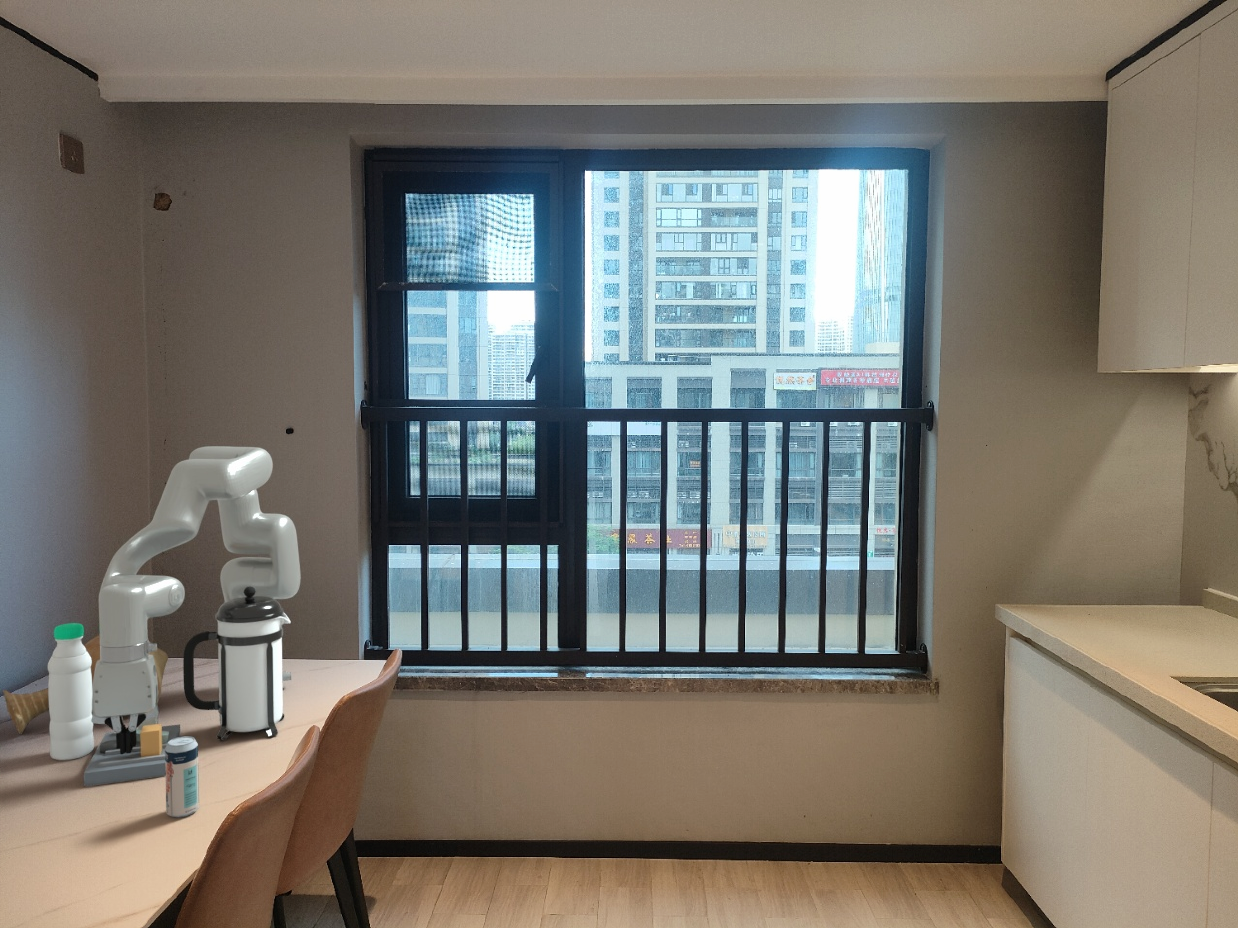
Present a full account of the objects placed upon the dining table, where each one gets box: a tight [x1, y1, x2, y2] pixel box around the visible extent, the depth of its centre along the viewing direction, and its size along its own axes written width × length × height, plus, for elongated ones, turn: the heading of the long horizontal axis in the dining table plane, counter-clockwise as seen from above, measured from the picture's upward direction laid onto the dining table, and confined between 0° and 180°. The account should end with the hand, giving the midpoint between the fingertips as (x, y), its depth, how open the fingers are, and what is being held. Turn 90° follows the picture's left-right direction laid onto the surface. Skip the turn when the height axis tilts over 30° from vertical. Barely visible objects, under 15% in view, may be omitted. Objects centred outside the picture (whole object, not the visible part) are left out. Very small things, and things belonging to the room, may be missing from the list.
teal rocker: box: [136, 728, 169, 743], centre depth 160 cm, size 6×2×1 cm, turn 112°
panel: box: [83, 724, 181, 787], centre depth 159 cm, size 13×20×4 cm, turn 22°
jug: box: [2, 633, 169, 735], centre depth 179 cm, size 20×19×30 cm
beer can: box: [165, 735, 200, 818], centre depth 138 cm, size 5×5×12 cm
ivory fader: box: [137, 715, 159, 730], centre depth 164 cm, size 3×4×5 cm
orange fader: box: [140, 723, 162, 757], centre depth 155 cm, size 3×4×5 cm
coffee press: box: [182, 586, 291, 742], centre depth 173 cm, size 17×16×30 cm
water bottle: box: [47, 622, 95, 761], centre depth 160 cm, size 7×7×25 cm
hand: (126, 750), depth 154 cm, fingers closed
